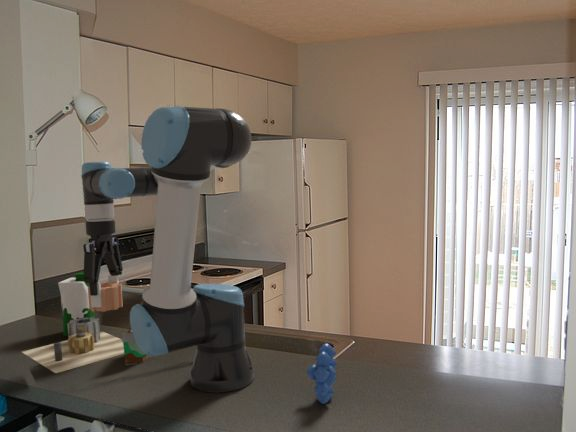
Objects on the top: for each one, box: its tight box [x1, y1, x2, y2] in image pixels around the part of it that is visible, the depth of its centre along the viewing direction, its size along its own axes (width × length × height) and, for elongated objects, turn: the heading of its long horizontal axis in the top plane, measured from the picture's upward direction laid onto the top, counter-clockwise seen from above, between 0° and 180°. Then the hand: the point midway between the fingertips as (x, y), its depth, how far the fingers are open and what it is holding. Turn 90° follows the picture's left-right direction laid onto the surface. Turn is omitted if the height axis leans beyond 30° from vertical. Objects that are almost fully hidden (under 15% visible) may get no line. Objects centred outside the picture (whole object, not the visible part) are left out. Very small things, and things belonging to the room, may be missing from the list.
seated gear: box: [67, 317, 101, 343], centre depth 161 cm, size 8×8×6 cm
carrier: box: [21, 331, 124, 374], centre depth 154 cm, size 24×24×6 cm
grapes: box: [306, 342, 338, 405], centre depth 120 cm, size 12×7×12 cm, turn 164°
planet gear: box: [88, 282, 124, 313], centre depth 150 cm, size 8×8×6 cm
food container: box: [121, 327, 152, 366], centre depth 145 cm, size 12×6×10 cm, turn 179°
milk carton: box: [57, 271, 96, 337], centre depth 170 cm, size 9×9×20 cm
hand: (106, 302), depth 150 cm, fingers closed on planet gear, 8 cm apart
